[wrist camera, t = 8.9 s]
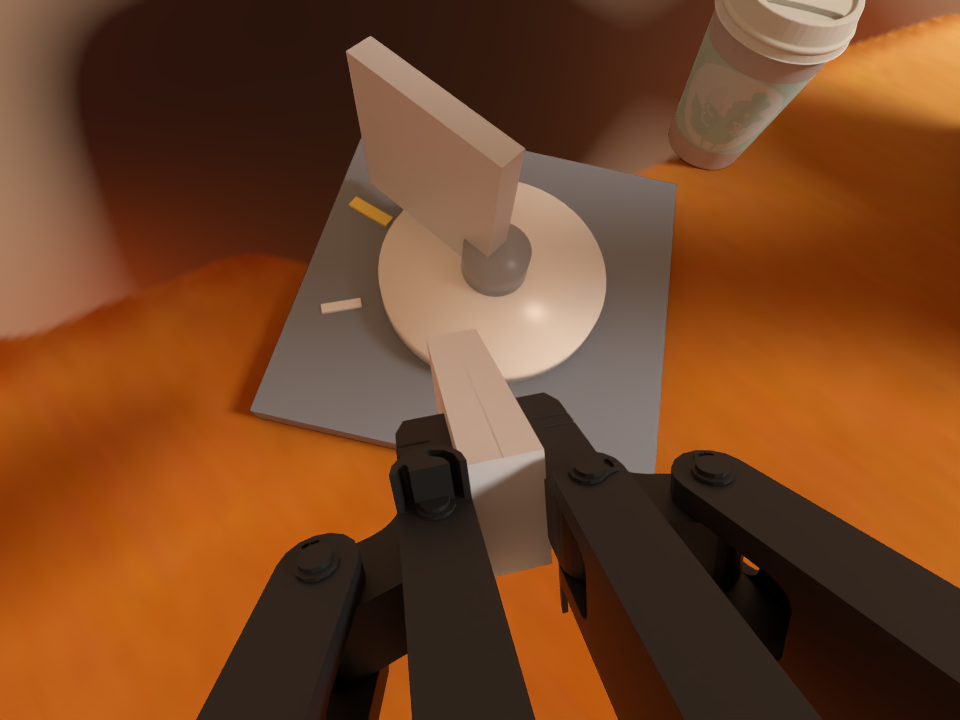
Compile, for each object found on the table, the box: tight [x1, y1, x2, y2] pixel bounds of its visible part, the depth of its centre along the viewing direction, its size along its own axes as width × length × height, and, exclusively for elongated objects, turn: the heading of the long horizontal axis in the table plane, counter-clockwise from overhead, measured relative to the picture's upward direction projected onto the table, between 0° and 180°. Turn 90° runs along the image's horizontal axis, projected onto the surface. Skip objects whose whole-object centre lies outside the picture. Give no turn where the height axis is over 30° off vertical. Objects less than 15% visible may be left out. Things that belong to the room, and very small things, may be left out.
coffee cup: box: [669, 0, 865, 170], centre depth 35 cm, size 8×8×12 cm
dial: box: [346, 36, 606, 383], centre depth 28 cm, size 17×14×10 cm
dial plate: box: [250, 137, 677, 474], centre depth 33 cm, size 23×23×2 cm
